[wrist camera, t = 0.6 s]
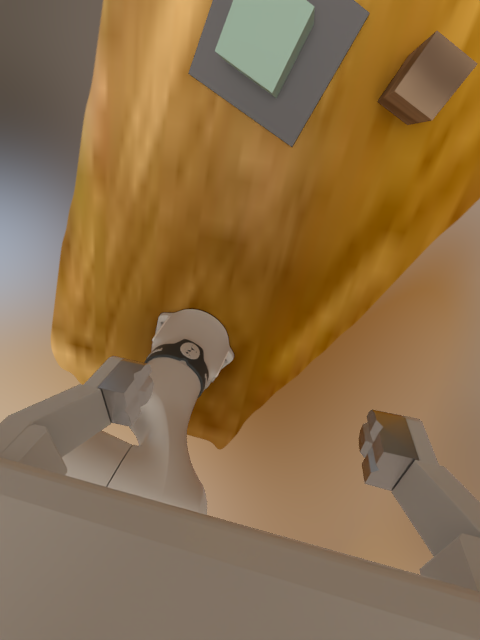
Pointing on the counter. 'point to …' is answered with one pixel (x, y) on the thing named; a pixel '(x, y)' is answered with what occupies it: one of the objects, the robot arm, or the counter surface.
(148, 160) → the counter surface
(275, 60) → the sage brick
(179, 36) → the counter surface
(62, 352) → the counter surface
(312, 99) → the mat
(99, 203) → the counter surface
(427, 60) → the walnut block
